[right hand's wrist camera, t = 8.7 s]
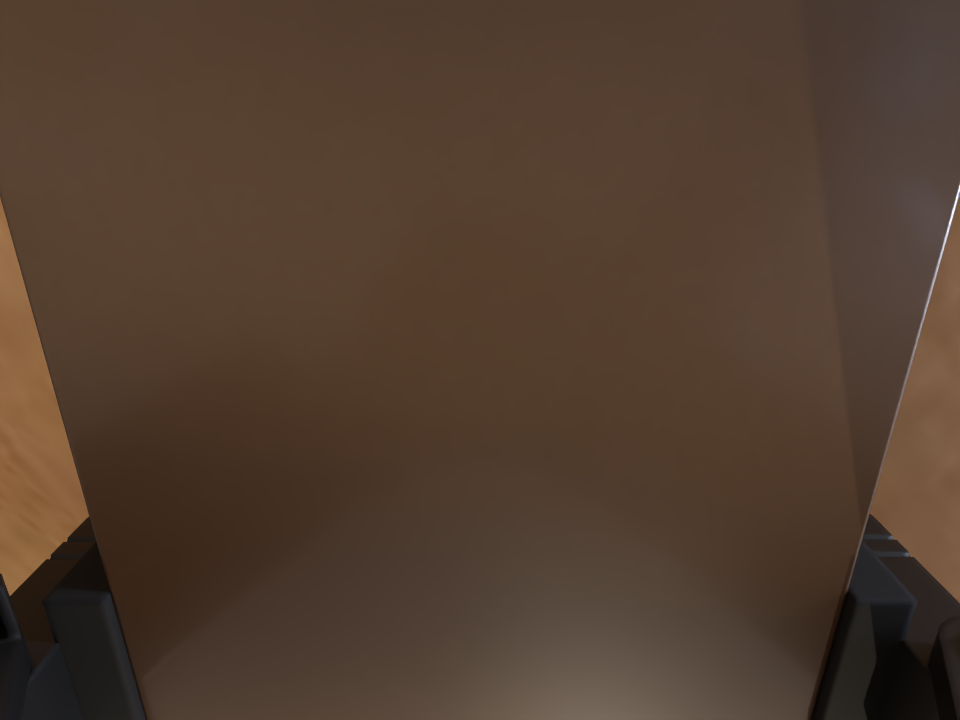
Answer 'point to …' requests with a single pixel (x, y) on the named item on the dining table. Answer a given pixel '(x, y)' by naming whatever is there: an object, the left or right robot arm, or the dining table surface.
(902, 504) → the dining table surface
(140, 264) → the wide beam
